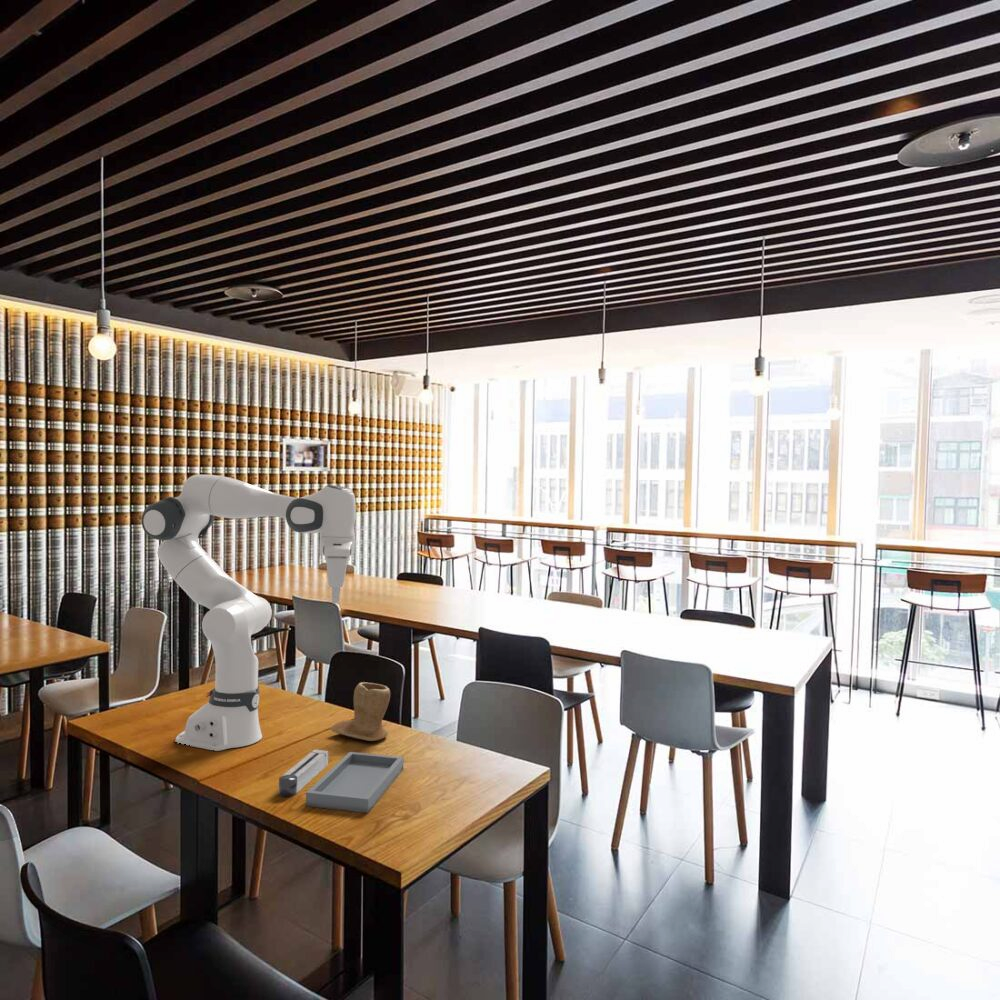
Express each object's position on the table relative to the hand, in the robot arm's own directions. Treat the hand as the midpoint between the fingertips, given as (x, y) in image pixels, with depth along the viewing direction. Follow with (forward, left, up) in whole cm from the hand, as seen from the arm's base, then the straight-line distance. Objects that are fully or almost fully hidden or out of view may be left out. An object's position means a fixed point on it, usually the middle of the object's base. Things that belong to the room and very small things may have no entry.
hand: (335, 600), depth 180 cm
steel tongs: (0, -14, -41) cm, 44 cm away
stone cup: (+3, +18, -41) cm, 45 cm away
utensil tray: (+14, -15, -41) cm, 46 cm away
